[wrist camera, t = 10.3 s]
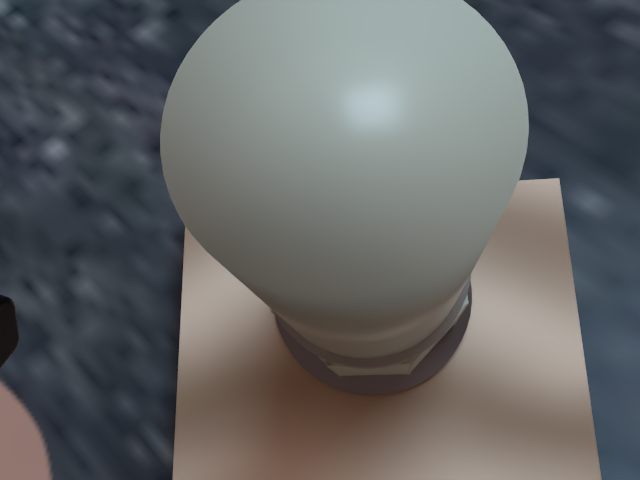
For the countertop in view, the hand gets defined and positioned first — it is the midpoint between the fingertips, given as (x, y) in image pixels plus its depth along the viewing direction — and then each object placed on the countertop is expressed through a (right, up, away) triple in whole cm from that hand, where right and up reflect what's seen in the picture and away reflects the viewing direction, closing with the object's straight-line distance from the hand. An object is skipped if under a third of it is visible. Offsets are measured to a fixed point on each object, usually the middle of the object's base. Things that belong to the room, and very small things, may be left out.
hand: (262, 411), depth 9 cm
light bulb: (+3, +1, +12) cm, 12 cm away
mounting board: (+3, -4, +13) cm, 14 cm away
